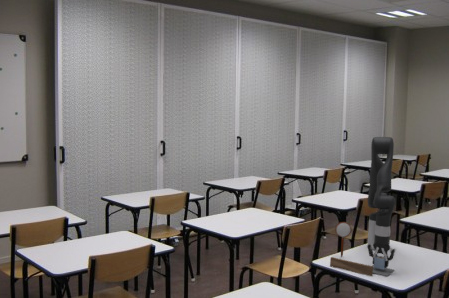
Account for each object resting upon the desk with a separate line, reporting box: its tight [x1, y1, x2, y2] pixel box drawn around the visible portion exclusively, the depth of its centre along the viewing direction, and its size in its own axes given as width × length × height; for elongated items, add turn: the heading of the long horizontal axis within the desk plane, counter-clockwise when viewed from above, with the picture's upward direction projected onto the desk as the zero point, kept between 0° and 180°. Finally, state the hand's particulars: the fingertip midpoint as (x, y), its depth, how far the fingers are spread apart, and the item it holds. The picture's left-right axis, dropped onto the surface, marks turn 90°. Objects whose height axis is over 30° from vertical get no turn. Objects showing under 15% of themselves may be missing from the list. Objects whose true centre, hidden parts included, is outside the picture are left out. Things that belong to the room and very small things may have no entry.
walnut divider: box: [329, 256, 374, 277], centre depth 251 cm, size 2×22×4 cm, turn 54°
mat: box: [371, 264, 395, 278], centre depth 251 cm, size 11×11×1 cm
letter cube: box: [373, 255, 385, 270], centre depth 251 cm, size 5×5×5 cm
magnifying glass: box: [334, 221, 352, 258], centre depth 271 cm, size 9×2×20 cm, turn 91°
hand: (380, 266), depth 251 cm, fingers closed on letter cube, 5 cm apart
